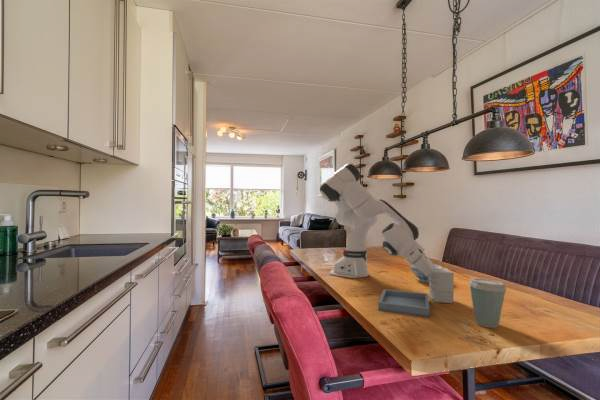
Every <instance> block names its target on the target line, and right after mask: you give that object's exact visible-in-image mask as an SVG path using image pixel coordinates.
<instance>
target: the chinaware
mask: <svg viewBox="0 0 600 400" xmlns="http://www.w3.org/2000/svg"><path fill="white" fill-rule="evenodd" d="M433 266H434V267H435V268H437V269H443V267H442V266H441V265H438V264H434V263H433ZM410 269H411V271H412V273H413V275H414V276H415V277H417V278H418V279H419V281H420V282H421V283H422V282H423V283H429V277H427V276H426V275H424V274H423V273H422V272H421V271H420V270H418V269H417V268H416V267H415V266H414V265H413V264H412V265H411V264H410Z"/></svg>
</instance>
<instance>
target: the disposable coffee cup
mask: <svg viewBox="0 0 600 400" xmlns="http://www.w3.org/2000/svg"><path fill="white" fill-rule="evenodd" d="M468 285H469V290H470V295H471V302H472V303H471V304H472V309H473V316H474V320H475V323H476V324H478V325H479V326H482V327H485V328H492V329H493V328H497V327H498V326H499V324H500V319H501V315H502V309H503V304H504V299H505V294H506V291H507V287H506V286H505V283H503V282H501V281H498V280H494V279H487V278H482V277H481V278H480V277H479V278H477V277H475V278H471V279H470V280H469V282H468Z"/></svg>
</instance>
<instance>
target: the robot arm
mask: <svg viewBox="0 0 600 400" xmlns="http://www.w3.org/2000/svg"><path fill="white" fill-rule="evenodd" d="M360 178H361V173H360V171H359V169H358V167H356V166H355V164H353V163H346V164H344V165H343V166H342V167H340V168H339V169H337V170H336V171H335V172H334V173H332V175H331V176H330V177H328V178H327V179H326V180H325V182H323V183H322V184H321V185H320V186H319V191H320V194H321V196H322V197H323V198H324V199H325V200H326V201H327V202H331V203H332V202H333V203H335V205H336V206H337V210H336V213H335V220H336V223H337V224H339V225H343V226H345V227H347V226H348V227H354V228H353V231H351V232H350V233H349V234H347V236H346V248H345V249H343V251H342V254H343V256H342V257H340V258H339V259H337V260H336V261H335V262H334V264H333V268H332V269H331V270H330V271H329V274H330V275H332V276H338V277H342V278H343V277H344V278H350V279H357V278H364V277H365V278H366V277H368V276H369V275H370V273H369V270H368V264H367V259H368V251H367V235H368V233H369V231H370V229H371V228H372V227H373V226H375V225H376V223H377V221H378V216H380V215H382V214H384V215H386V216H387V217H388V218H390V219H391V220H392V222H393V223H392V222H391V223H389V224H388V225H386V226H385V227H384V228H383V230H382V232H381V235H382V236H383V241H382V248H383V250H384V251H385V252H386V253H388V255H389V256H398V255H401V257H403V258H404V259H405V260H406V261H407V263H408V264H410V266H411V265H412V264H413V265H414V266H415V267H416V268H417V269H418V270H420V271H421V272H422V273H423V274H424V275H426V276H427V277H429V276H431V277H433V278H434V279H435V280H436V281H437V282H440V281H441V278H440V277H439V276H438V275H437V274H436V273H435V272H434V268H435V267H434V266H433V264H434V263H433V261H432V260H431V259H430V258H429V257H428V256H427V254H426V253H425V248H424V247H423V246H422V245H420V243H418V242H417V241H416V240H417V239H419V235H420V233H419V232H420V231H419V228H418V227H417V226H416V225H415V224H414V223H413V222H411V221H410V220H408V219H407V218H406V217H405V216H403V214H401V212H399V211H398V210H397V209H396V208H395V207H393V206H392V205H391V204H390V203H389V202H388V201H386V200H384V199H377V198H375V197H373V196H372V195H371V192H370V191H368V190H367V189H366V188H365V187H364V186H363V185H362V184H361V183H360V182H358V181H359V180H360Z"/></svg>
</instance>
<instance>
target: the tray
mask: <svg viewBox="0 0 600 400" xmlns="http://www.w3.org/2000/svg"><path fill="white" fill-rule="evenodd" d="M430 310H431V309H430V301H429V293H423V292H415V291H414V292H413V291H405V290H396V289H386V288H384V289H383V290H382V293H381V295H380V298H379V300H378V311H382V312H389V313H394V314H396V313H397V314H404V315H409V316H416V317H417V316H418V317H419V316H420V317H426V318H430V315H431V313H430Z"/></svg>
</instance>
